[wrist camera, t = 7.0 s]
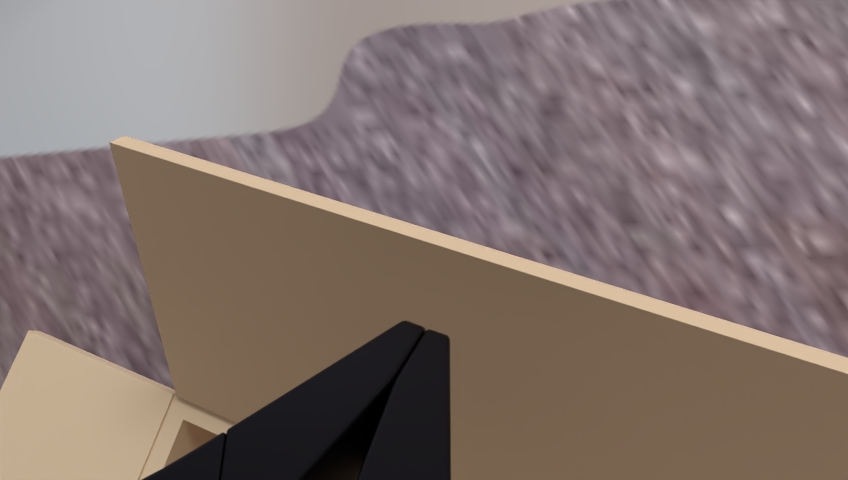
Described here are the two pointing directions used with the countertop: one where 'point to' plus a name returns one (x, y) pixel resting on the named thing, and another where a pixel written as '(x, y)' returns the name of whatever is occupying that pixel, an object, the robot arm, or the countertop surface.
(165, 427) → the carton
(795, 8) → the countertop surface
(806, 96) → the countertop surface
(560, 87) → the countertop surface
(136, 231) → the flap
